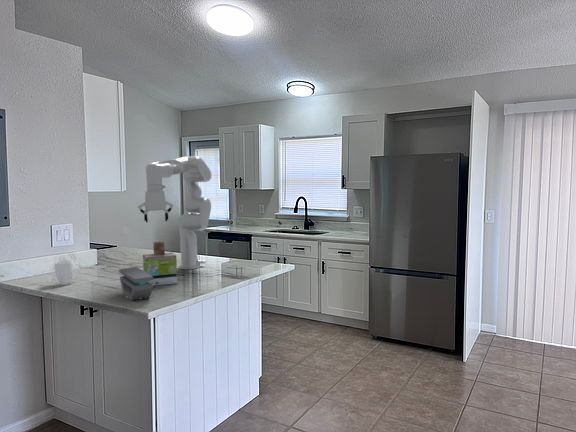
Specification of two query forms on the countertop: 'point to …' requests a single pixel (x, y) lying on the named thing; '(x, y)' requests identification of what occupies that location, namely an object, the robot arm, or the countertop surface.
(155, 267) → the tea box
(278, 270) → the countertop surface
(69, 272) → the mug
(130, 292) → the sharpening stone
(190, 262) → the robot arm
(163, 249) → the walnut block
